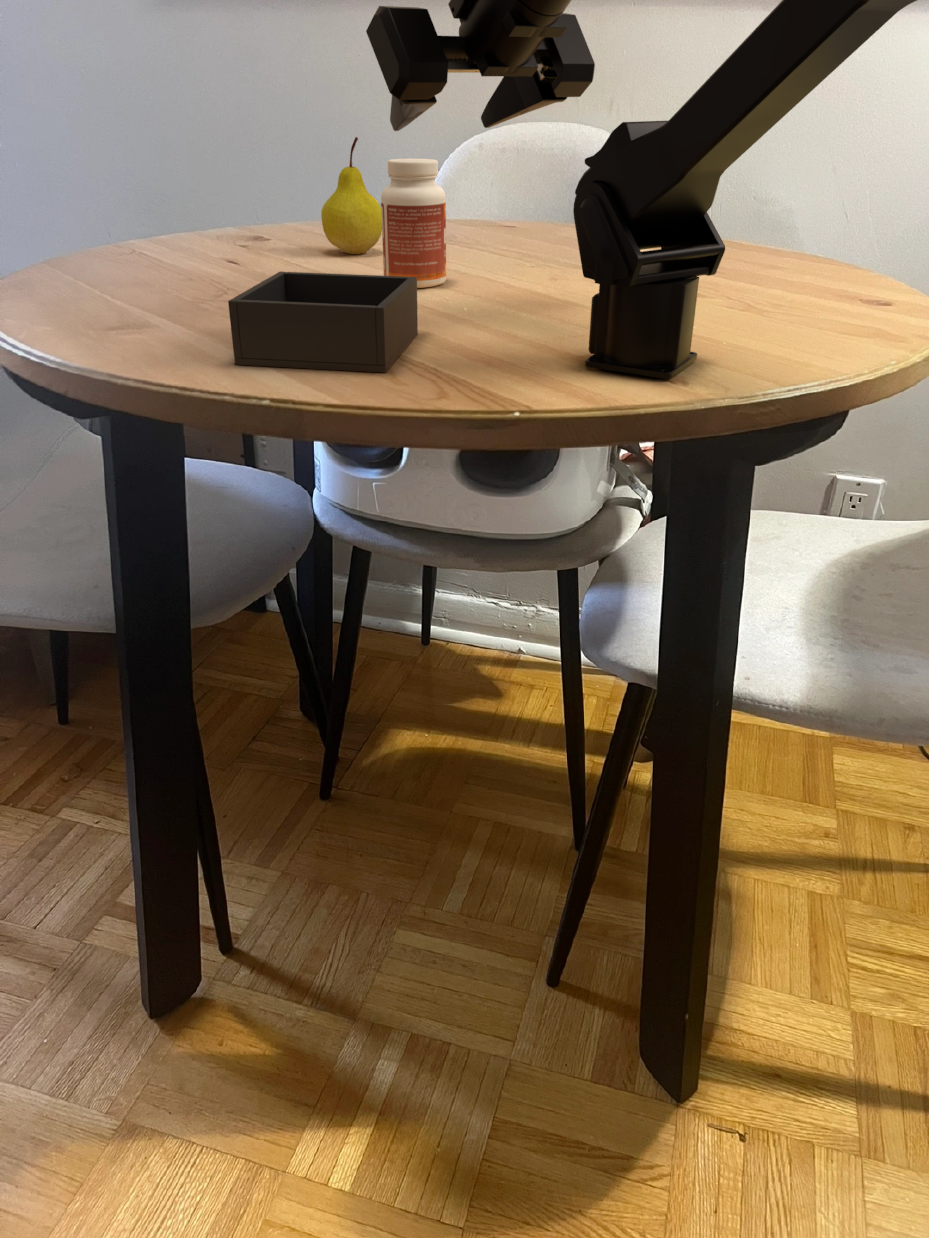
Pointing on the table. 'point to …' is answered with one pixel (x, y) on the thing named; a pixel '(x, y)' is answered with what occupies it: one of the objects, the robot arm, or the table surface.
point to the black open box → (325, 321)
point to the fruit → (352, 213)
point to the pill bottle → (414, 222)
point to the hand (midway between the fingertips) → (440, 124)
